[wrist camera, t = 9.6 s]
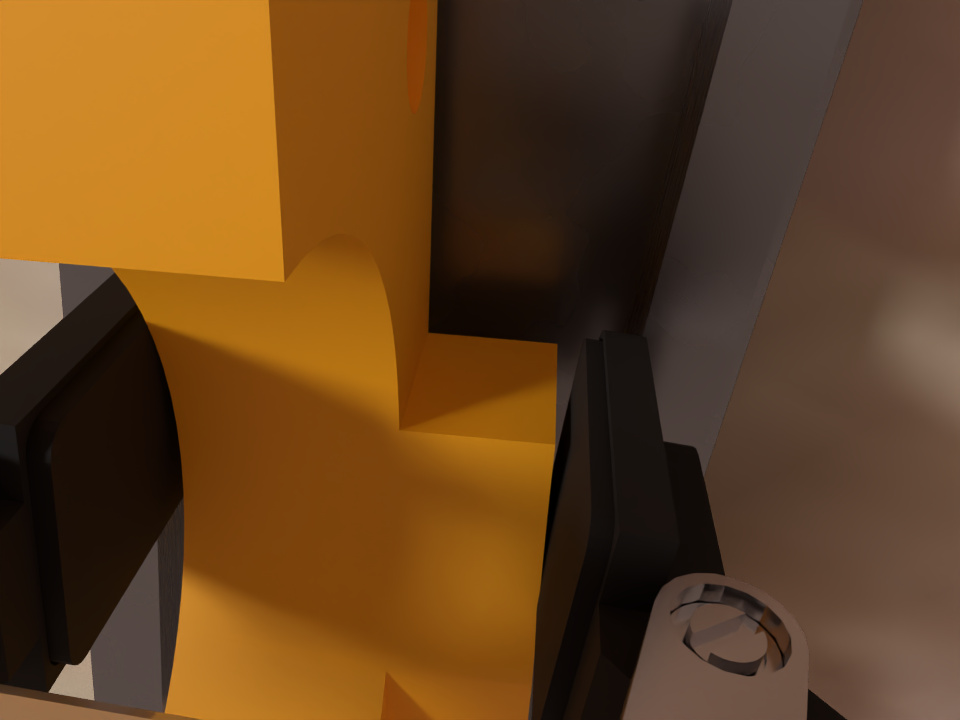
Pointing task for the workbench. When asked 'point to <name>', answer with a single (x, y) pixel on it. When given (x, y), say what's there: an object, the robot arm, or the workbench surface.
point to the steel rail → (582, 213)
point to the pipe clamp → (295, 345)
